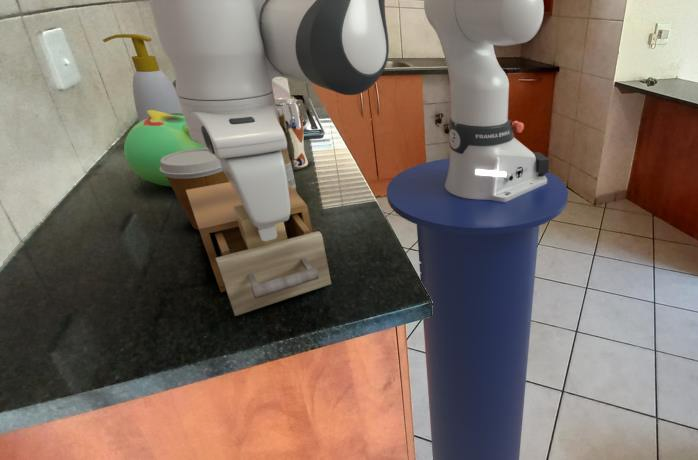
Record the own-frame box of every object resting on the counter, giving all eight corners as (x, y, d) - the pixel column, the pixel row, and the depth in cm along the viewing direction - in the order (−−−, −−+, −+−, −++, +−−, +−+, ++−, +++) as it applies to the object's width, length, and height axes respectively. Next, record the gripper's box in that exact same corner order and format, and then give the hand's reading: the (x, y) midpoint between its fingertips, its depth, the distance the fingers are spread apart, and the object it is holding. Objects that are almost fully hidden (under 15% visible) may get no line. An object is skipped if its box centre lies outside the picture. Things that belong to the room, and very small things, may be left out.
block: (279, 228, 57) (272, 198, 55) (288, 242, 54) (281, 211, 52) (242, 237, 55) (233, 206, 53) (249, 252, 52) (240, 220, 50)
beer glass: (308, 170, 98) (295, 104, 91) (275, 171, 96) (259, 104, 89) (312, 160, 104) (301, 97, 97) (281, 161, 102) (267, 97, 95)
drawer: (343, 300, 55) (334, 249, 52) (242, 337, 49) (223, 281, 45) (302, 243, 68) (292, 198, 64) (217, 266, 61) (200, 217, 57)
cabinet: (318, 263, 65) (307, 205, 60) (220, 292, 57) (198, 229, 53) (291, 225, 75) (279, 173, 70) (205, 246, 67) (185, 189, 63)
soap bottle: (149, 145, 108) (107, 32, 95) (204, 141, 113) (170, 32, 100) (140, 159, 99) (93, 36, 87) (200, 153, 104) (163, 37, 92)
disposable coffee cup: (190, 213, 77) (168, 149, 71) (250, 208, 80) (233, 146, 74) (173, 238, 69) (146, 168, 63) (240, 231, 72) (220, 164, 66)
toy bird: (162, 169, 95) (137, 101, 88) (247, 165, 99) (230, 100, 92) (122, 202, 79) (88, 124, 72) (224, 195, 84) (202, 121, 77)
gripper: (189, 103, 52) (220, 205, 59) (215, 147, 39) (251, 273, 45) (247, 99, 56) (270, 195, 63) (289, 137, 42) (313, 255, 49)
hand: (262, 228), depth 54 cm, fingers closed on block, 4 cm apart
